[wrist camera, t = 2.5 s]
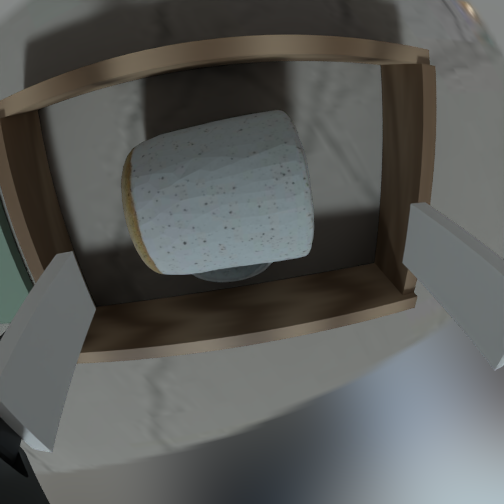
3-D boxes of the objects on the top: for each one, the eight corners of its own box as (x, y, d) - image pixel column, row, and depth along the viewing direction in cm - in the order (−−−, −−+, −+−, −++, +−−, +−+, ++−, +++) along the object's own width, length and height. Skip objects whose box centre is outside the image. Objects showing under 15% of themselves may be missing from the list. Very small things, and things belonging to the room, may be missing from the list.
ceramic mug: (134, 135, 17) (94, 167, 10) (270, 104, 17) (313, 116, 11) (180, 281, 22) (176, 363, 16) (291, 255, 23) (328, 328, 16)
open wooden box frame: (90, 317, 22) (74, 363, 18) (23, 100, 14) (-21, 108, 10) (383, 271, 24) (414, 307, 20) (392, 52, 16) (439, 49, 12)
